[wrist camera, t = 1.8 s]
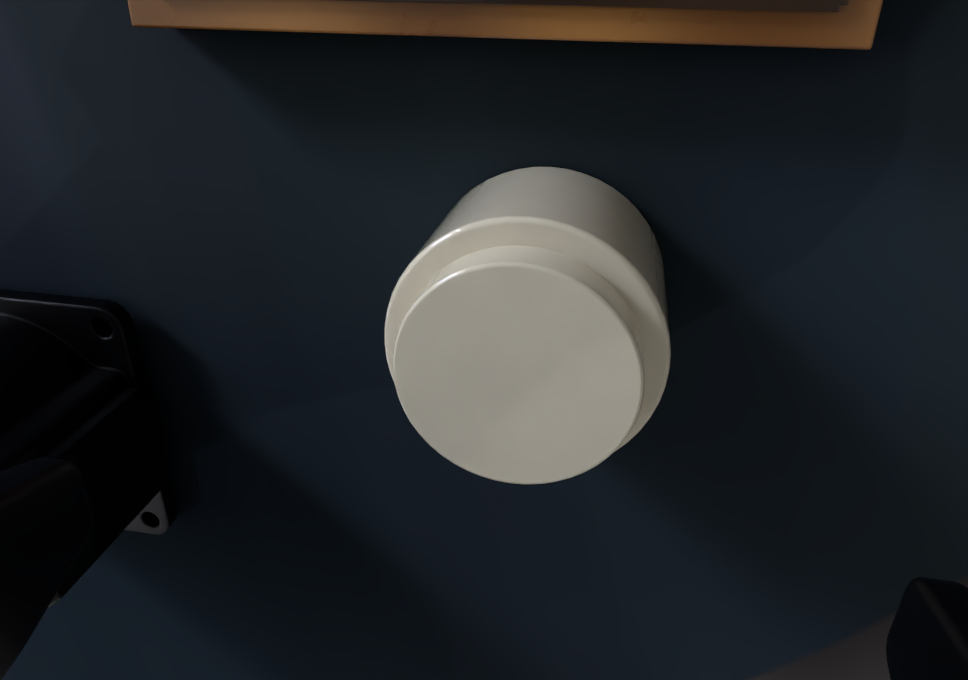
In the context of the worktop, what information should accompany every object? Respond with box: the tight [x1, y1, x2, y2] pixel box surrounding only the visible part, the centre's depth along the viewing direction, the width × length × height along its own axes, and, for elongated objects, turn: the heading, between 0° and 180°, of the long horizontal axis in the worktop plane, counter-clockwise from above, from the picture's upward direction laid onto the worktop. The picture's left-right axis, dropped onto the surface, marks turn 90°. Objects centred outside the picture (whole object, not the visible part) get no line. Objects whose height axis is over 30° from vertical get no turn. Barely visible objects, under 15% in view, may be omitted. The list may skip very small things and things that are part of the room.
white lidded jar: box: [384, 167, 671, 484], centre depth 13 cm, size 5×5×4 cm
